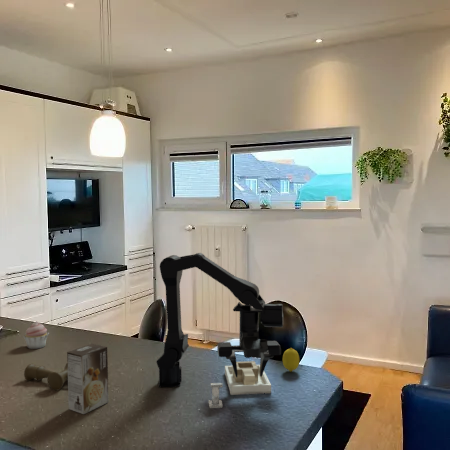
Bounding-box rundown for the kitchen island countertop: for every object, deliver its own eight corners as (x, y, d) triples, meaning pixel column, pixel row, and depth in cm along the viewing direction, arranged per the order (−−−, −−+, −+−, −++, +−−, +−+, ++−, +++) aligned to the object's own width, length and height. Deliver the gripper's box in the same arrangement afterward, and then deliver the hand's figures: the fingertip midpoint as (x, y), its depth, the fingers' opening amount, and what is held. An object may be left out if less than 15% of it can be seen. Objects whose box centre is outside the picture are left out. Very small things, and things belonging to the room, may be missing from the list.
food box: (93, 397, 136) (92, 342, 135) (109, 402, 133) (108, 346, 132) (67, 409, 128) (66, 351, 127) (83, 415, 125) (82, 355, 124)
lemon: (298, 375, 153) (299, 351, 153) (281, 374, 154) (282, 350, 154) (299, 369, 159) (299, 345, 158) (283, 368, 160) (283, 344, 159)
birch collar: (233, 374, 153) (233, 361, 152) (254, 373, 153) (254, 361, 153) (238, 389, 140) (238, 376, 140) (261, 388, 141) (261, 375, 141)
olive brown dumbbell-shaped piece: (39, 375, 155) (91, 381, 148) (18, 387, 146) (72, 393, 139) (38, 357, 154) (90, 362, 148) (16, 368, 145) (70, 374, 139)
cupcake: (43, 350, 178) (43, 324, 178) (19, 350, 178) (18, 324, 178) (53, 343, 188) (52, 318, 187) (29, 342, 188) (29, 318, 187)
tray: (271, 393, 139) (271, 384, 139) (230, 394, 138) (230, 386, 138) (260, 372, 156) (260, 364, 156) (224, 373, 155) (224, 365, 155)
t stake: (209, 408, 129) (209, 386, 129) (208, 402, 133) (208, 381, 132) (222, 407, 129) (222, 386, 129) (221, 402, 133) (221, 381, 133)
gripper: (220, 334, 133) (220, 388, 134) (285, 332, 135) (285, 385, 135) (217, 323, 144) (217, 373, 145) (277, 322, 146) (276, 371, 147)
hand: (248, 376), depth 143 cm, fingers open, 7 cm apart
